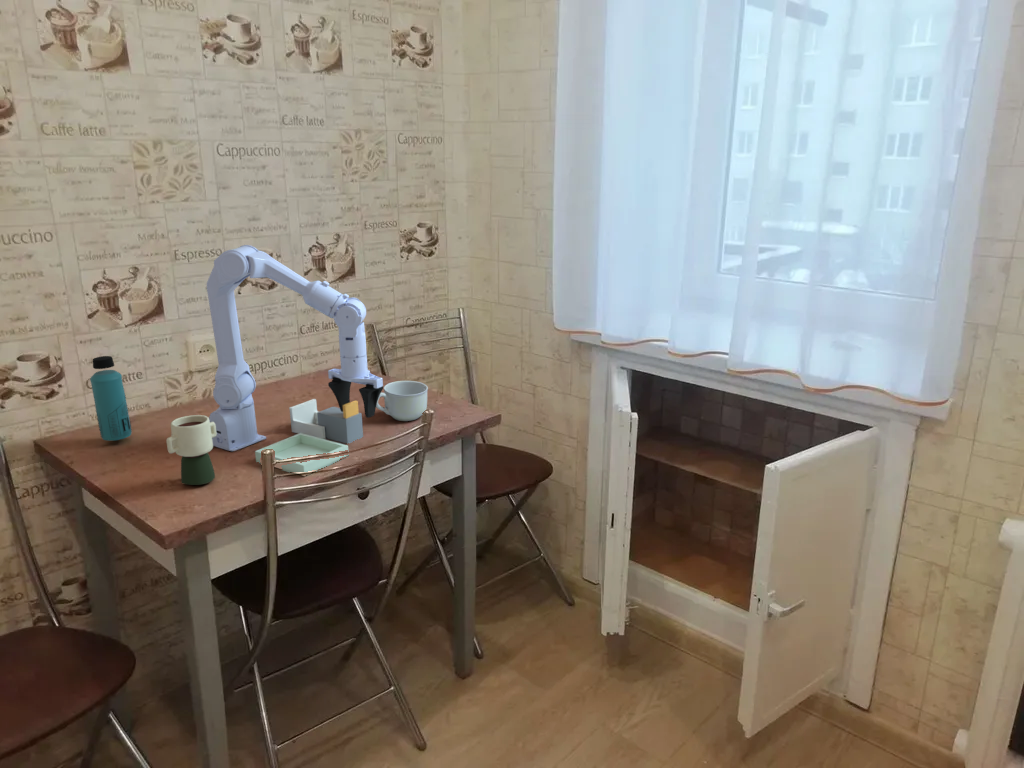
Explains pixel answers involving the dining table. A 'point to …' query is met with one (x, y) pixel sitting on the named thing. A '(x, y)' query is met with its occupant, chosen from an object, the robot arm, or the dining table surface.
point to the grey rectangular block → (342, 423)
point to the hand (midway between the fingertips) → (357, 413)
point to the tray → (304, 452)
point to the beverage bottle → (110, 401)
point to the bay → (306, 419)
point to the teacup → (404, 400)
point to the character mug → (193, 447)
